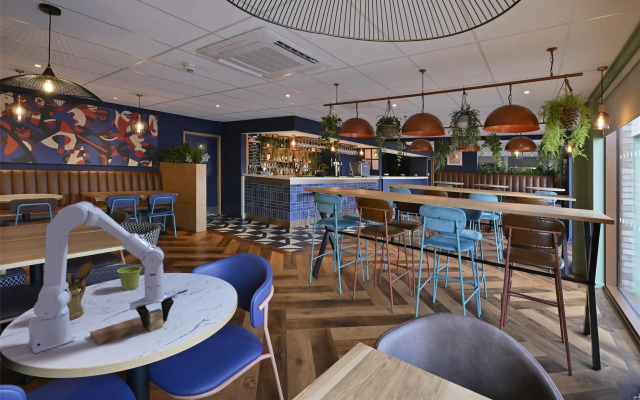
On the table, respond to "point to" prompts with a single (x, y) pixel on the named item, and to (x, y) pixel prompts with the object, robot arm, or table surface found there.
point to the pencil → (181, 291)
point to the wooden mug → (77, 295)
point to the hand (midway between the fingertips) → (155, 323)
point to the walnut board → (117, 331)
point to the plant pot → (129, 277)
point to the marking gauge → (155, 320)
